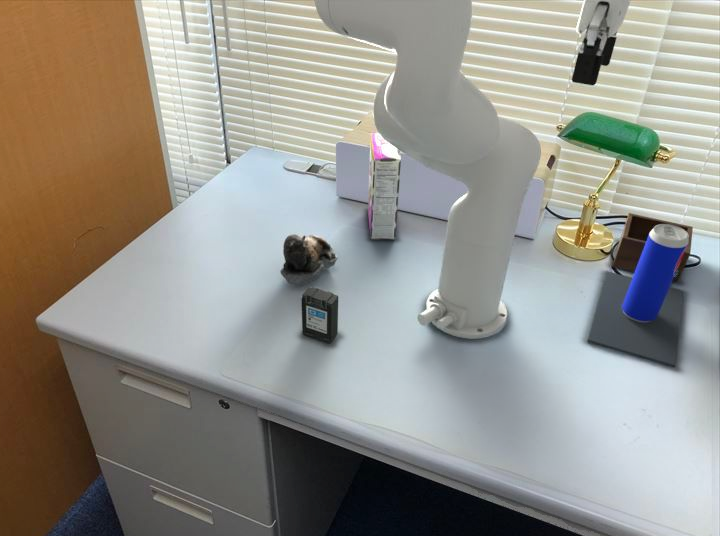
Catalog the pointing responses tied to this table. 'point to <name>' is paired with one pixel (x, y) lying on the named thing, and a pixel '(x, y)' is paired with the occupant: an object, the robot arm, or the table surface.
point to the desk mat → (636, 324)
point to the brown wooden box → (643, 242)
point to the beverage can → (655, 272)
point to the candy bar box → (383, 188)
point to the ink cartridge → (319, 314)
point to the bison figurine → (306, 258)
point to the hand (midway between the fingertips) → (590, 73)
